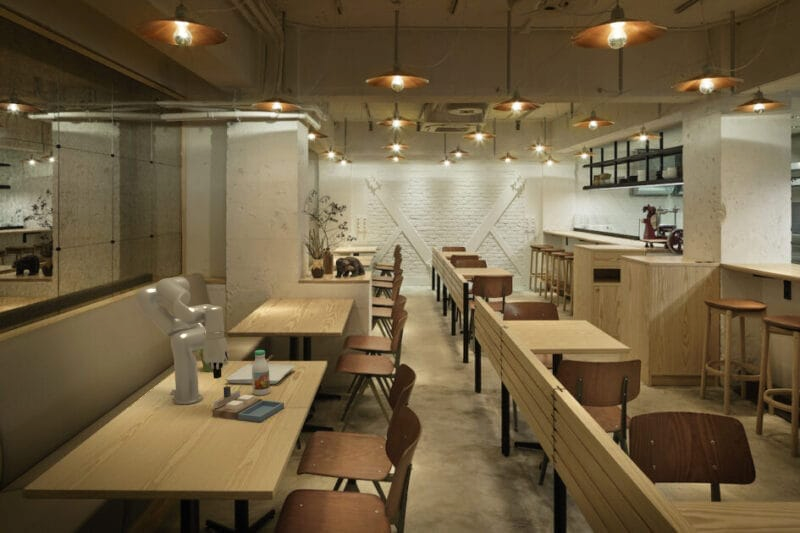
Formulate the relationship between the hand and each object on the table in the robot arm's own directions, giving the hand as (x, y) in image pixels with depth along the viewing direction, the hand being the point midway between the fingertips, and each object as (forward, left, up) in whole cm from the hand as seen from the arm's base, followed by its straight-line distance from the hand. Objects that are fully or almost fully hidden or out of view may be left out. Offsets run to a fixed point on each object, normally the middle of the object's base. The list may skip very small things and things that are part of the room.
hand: (217, 377), depth 254 cm
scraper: (+4, 0, -10) cm, 11 cm away
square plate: (-9, +46, -14) cm, 49 cm away
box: (+21, 0, -14) cm, 25 cm away
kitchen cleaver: (-26, +73, -14) cm, 79 cm away
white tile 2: (+11, +4, -11) cm, 16 cm away
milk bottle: (+5, +24, -14) cm, 28 cm away
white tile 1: (+11, -4, -11) cm, 16 cm away
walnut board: (+9, 0, -14) cm, 17 cm away
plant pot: (-43, +50, -14) cm, 67 cm away
